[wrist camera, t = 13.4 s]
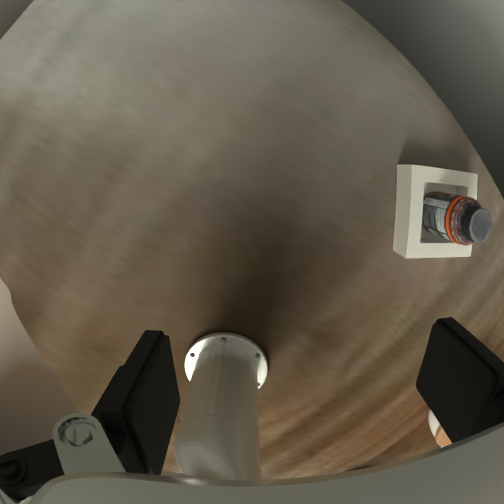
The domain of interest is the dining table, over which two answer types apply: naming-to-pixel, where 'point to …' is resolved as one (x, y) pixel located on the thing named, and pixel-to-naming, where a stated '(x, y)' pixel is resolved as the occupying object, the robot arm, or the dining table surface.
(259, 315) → the dining table surface
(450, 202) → the supplement bottle
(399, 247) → the socket
